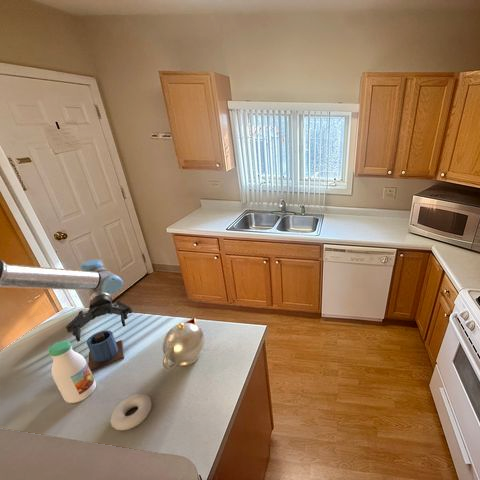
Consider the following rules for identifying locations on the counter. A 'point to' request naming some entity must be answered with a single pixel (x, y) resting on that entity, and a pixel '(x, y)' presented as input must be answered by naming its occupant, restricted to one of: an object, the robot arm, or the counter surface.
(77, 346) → the counter surface
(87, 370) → the milk bottle
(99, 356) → the ring sleeve
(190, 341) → the teapot
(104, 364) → the post stand
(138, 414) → the donut
